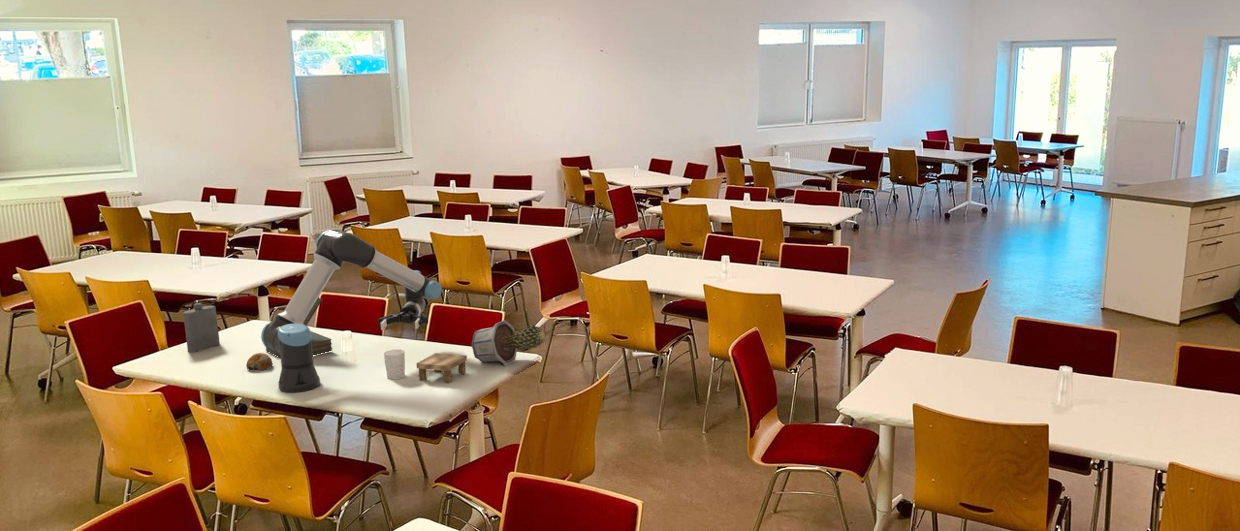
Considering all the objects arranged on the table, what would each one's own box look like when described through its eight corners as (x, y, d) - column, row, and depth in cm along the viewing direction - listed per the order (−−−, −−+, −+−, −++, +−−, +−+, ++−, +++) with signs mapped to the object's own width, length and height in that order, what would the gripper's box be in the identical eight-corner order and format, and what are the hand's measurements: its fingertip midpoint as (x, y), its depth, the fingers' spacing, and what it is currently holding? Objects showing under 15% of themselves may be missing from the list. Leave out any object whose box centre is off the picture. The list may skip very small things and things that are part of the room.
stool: (417, 380, 372) (416, 363, 370) (436, 369, 384) (435, 353, 383) (449, 383, 367) (448, 366, 365) (467, 372, 380) (466, 355, 378)
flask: (213, 342, 434) (208, 299, 430) (222, 344, 431) (217, 300, 427) (184, 351, 422) (178, 306, 418) (192, 352, 419) (187, 308, 415)
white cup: (410, 375, 378) (408, 351, 376) (395, 381, 372) (394, 356, 370) (396, 372, 382) (394, 348, 380) (381, 378, 376) (379, 353, 374)
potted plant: (462, 331, 386) (527, 318, 374) (484, 322, 402) (547, 309, 391) (473, 373, 387) (538, 361, 375) (494, 362, 403) (557, 351, 392)
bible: (266, 352, 417) (260, 296, 412) (309, 343, 430) (303, 288, 425) (289, 363, 401) (283, 304, 396) (332, 353, 414) (327, 296, 409)
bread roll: (274, 376, 394) (280, 357, 395) (251, 372, 386) (257, 352, 387) (262, 372, 401) (268, 353, 402) (239, 367, 393) (246, 348, 394)
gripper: (440, 320, 405) (430, 334, 384) (381, 322, 405) (368, 336, 384) (439, 302, 403) (429, 315, 382) (379, 305, 403) (366, 318, 383)
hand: (398, 326), depth 383 cm, fingers open, 13 cm apart
